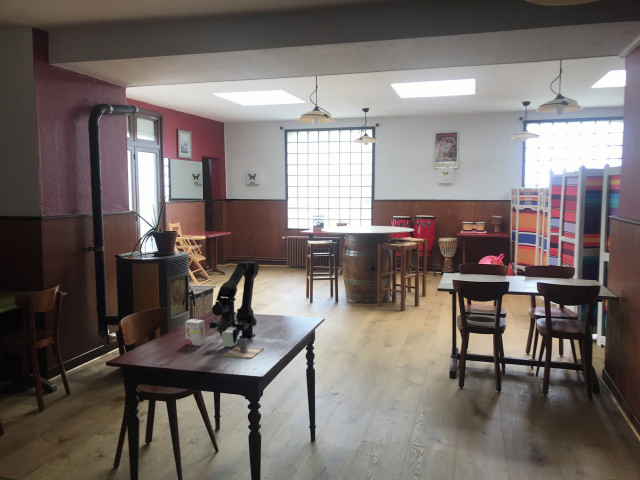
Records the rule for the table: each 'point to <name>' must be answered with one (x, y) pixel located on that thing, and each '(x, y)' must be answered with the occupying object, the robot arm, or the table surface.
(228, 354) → the post board
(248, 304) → the robot arm
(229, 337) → the mint green box
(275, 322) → the table surface
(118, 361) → the table surface
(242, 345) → the post
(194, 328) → the ink box
